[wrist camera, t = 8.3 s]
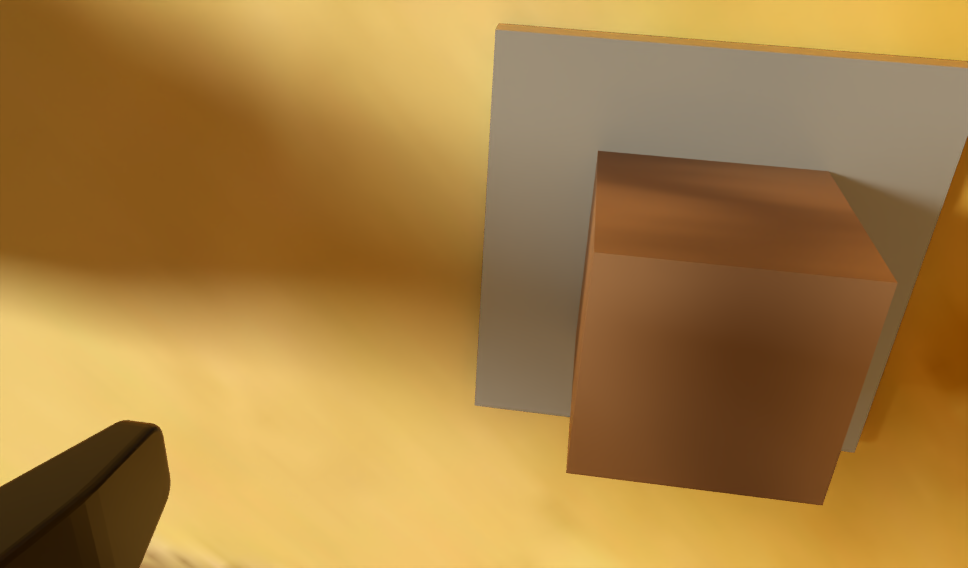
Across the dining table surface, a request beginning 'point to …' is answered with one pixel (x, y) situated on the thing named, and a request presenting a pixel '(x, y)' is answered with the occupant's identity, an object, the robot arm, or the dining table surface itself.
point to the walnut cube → (721, 326)
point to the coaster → (692, 135)
